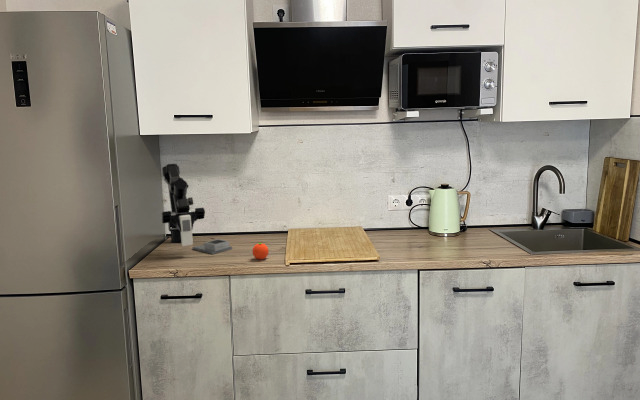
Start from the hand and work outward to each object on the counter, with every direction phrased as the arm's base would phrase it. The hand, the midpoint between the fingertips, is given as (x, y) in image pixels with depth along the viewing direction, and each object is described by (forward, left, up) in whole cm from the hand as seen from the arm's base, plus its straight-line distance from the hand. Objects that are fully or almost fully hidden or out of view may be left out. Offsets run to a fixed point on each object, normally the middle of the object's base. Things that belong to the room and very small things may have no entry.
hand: (186, 230), depth 218 cm
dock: (+5, +14, -12) cm, 19 cm away
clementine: (+34, 0, -13) cm, 36 cm away
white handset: (-1, +1, -7) cm, 7 cm away
